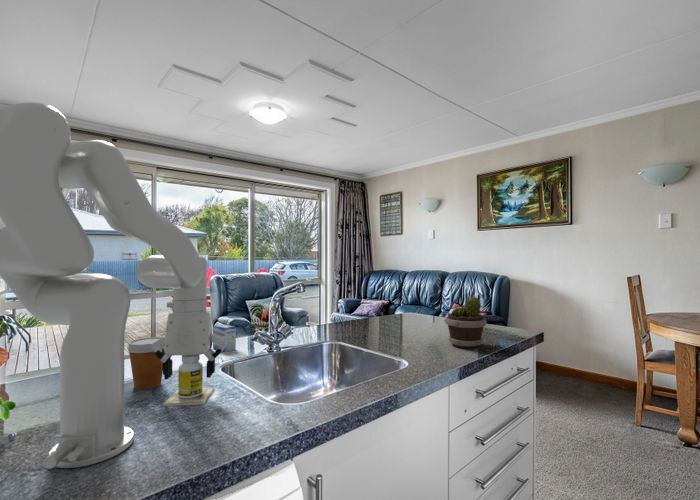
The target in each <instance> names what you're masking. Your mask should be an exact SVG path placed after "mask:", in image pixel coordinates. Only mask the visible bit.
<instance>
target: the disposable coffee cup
mask: <svg viewBox="0 0 700 500" xmlns="http://www.w3.org/2000/svg"><path fill="white" fill-rule="evenodd" d="M162 338H164V337H162V336H153V337H152V336H149V337H141V338H136V339H132V340H130V341H129V342H128V346H127V347H126V349H127V352H128V354H129V360H130V367H131V374H132V380H133V388H134V389H135V390H139V391H142V390H151V389H155V388H157V387H159V386H161V384H162V378H163V363H162V362H161V360H160V359H159V358H158V357H157V356H156V355H155V352H154V350H153V349H152V347H151V344H152V343H154V342H156V341H158V340H160V339H162ZM160 347H161V350H163V351H164V343H163V344H161V345H160ZM164 352H165V351H164Z"/></svg>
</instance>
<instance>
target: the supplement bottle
mask: <svg viewBox="0 0 700 500" xmlns="http://www.w3.org/2000/svg"><path fill="white" fill-rule="evenodd" d="M181 362H182V363H181V364H180V365H179V366H178V369H177V370H178V375H177V376H178V380H177V381H178V384H177V385H178V388H177V389H178V395H179V397H180V398H185V399H188V398H194V397H197V396H199V395H201V394H202V388H203V379H204V378H203V374H204V373H203V363H202V362H201V361H200V355H181Z"/></svg>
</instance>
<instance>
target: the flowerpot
mask: <svg viewBox="0 0 700 500" xmlns="http://www.w3.org/2000/svg"><path fill="white" fill-rule="evenodd" d="M479 298H480V297H479V296H478V295H475V294H473V295H472V296H469V298H467V299H466V302H465V305H464V306H463V305H461V306H460V305H457V306H454V308H453V309H452V312H451V313H447V316H446V317H445V318H444V320H443V321H444V323H445V324H446V325H447V328H448V332H449V336H448V341H449V342H450V343H451V345H452V346H453V347H455V346H456V347H455V348H458V347H460V348H459V349H463V348H466V349H467V348H474V349H476V348H475V347H477V348H480V345H482V343H483V341H484V340H483V337H482V335H483V331H484V327H485V326H486V325H487V323H488V321H487V319H486V318H485V317H484V315H482V314H481V312H482V307H483V305H482V302H481V300H480V299H479Z"/></svg>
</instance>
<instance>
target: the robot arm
mask: <svg viewBox="0 0 700 500" xmlns="http://www.w3.org/2000/svg"><path fill="white" fill-rule="evenodd" d="M71 140H72V131H71V127H70V125H69V122H68V120H67V119H66V117H65V116H64V114H63V113H62V112H61V111H59V110H58V109H57V108H55V107H54V106H52V105H49V104H46V103H42V102H41V103H40V102H32V101H31V102H21V103H14V104H9V105H4V106H0V219H1V220H2V222H3V223H2V224H4V226H3V227H1V228H0V277H1V279H2V280H3V281H4V283H5V284H6V285H7V287H8V288H9V289H10V290H11V292H12V293H13V294H14V295H15V297H16V298H17V299H18V301H19V302H20V303H21V304H22V306H23V307H24V308H25V309H26V311H28V313H30V315H32V316H33V318H36V320H39V321H40V322H43V323H46V324H49V325H58V326H59V325H61V326H68V330H67V332H66V334H65V336H64V339H63V342H62V344H61V346H60V347H61V348H60V352H59V437H58V438H57V442H58V443H56V444H55V445H54V446H53V447H51V449H49V451H48V453H47V454H48V455H47V457H45V458H44V459H43V460H42V461H43V462H42V465H43V467H44V468H46V469H49V470H51V469H54V468H60V469H74V468H82V467H86V466H91V465H95V464H99V463H101V462H104V461H106V460H110V459H111V458H113V457H115V456H117V455H119V454H121V453H123V452H124V451H125V450H126V449H128V448H129V447H130V446H131V445H132V444H133V442H134V440H135V432H134V430H133V429H132V428H130V427H128V426H125V337H126V336H125V335H126V326H127V321H128V316H129V312H130V307H131V293H130V291H129V288H128V287H127V284H126V283H125V282H124V281H122V280H121V279H119V278H117V277H115V276H114V275H113V276H112V275H110V274H104V273H82V272H84V271H86V270H87V269H88V268H89V267H90V266H91V265H92V263H93V261H94V258H95V250H94V247H93V244H92V242H91V240H90V237H89V236H88V233H86V231H85V229H84V228H83V226H82V224H81V223H80V221H79V219H78V217H77V216H76V215H75V213H74V211H73V209H72V207H71V205H70V204H69V203H68V200H67V199H66V197H65V195H64V192H63V190H62V189H70V190H75V189H76V190H77V189H84V190H85V192H86V193H87V195H89V197H90V198H91V200H92V201H93V203H94V204H95V206H96V207H97V209H98V211H99V212H100V213H101V215H102V217H103V218H104V219H105V221H106V223H107V224H108V226H109V227H111V229H113V230H114V231H116V232H118V233H120V234H122V235H124V236H126V237H128V238H131V239H135V240H136V241H139V242H142V243H144V244H146V245H148V246H149V247H151V248H153V249H155V250H156V251H157V252H158V253H159V254H155V255H154V254H153V255H149V256H147V257H144V258H143V259H142V260H140V262H139V263H138V264H137V266H136V269H135V270H136V271H135V272H136V273H135V275H136V277H137V280H138V281H139V282H140V283H141V285H144V286H146V287H148V288H152V289H172V300H171V301H168V302H166V308H170V309H171V312H169V313H168V316H167V319H166V324H165V325H166V326H165V334H164V337H163V338H162V339H160V340H158V341H156V342H154V343H152V344H151V347H152V349H153V350H154V352H155V355H156V356H157V357H158V358H159V359H160V360H161V362H162V363H163V372H162V376H164V380H168V379H169V378H171V377H172V376H173V359H172V358H171V357H173V356H182V355H204V356H205V358H207V361H206V379H210V378H211V377H212V376H213V374H214V373H215V371H216V358H218V356H220V355H221V353H222V352H224V351H223V349H224V347H225V345H226V343H227V342H226V341H225V340H223V339H221V338H219V337H217V336H215V335H213V326H212V320H211V315H210V311H209V310H207V281H208V280H207V276H208V275H207V272H208V270H207V269H208V268H207V266H208V264H207V259H206V258H205V257H203V256H199V254H198V251H197V250H196V248H195V245H194V244H193V242H192V241H191V239H190V238H189V237H188V235H186V233H185V232H184V231H183V230H181V228H179V227H178V226H177V225H175V224H174V223H173V222H172V221H170V220H169V219H168V218H167V217H165V216H164V215H162V214H161V213H160V212H158V211H156V210H155V208H153V206H152V204H151V202H150V201H149V199H148V197H147V195H146V194H145V192H144V190H143V189H142V186H141V185H140V184H139V182H138V180H137V178H136V176H135V174H134V172H133V171H132V169H131V167H130V166H129V163H128V162H127V160H126V158H125V157H124V155H123V153H122V152H121V150H119V148H117V147H116V145H114V144H112V143H110V142H109V141H108V142H107V141H105V140H99V139H94V140H92V139H90V140H81V141H79V140H78V141H74V142H73V141H72V142H71ZM213 342H215V343H217V344H218V345H219V347H218V349H217V350H215V351H214V349H213ZM163 343H164V351H165V352H164V351H163V350H161V347H160V345H161V344H163Z"/></svg>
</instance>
